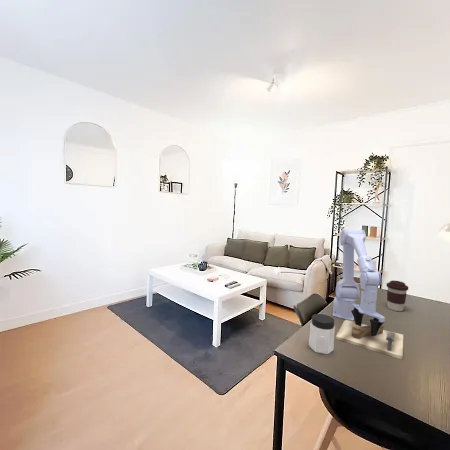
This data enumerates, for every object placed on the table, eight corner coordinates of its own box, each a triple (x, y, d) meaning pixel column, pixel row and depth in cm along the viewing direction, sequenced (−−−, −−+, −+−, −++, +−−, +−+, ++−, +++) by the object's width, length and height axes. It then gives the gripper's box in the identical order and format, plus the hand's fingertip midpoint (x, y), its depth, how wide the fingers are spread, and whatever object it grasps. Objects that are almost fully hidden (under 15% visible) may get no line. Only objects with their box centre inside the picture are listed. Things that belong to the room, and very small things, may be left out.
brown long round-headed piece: (356, 338, 106) (357, 331, 105) (349, 334, 109) (350, 327, 109) (384, 333, 111) (384, 326, 111) (376, 329, 114) (377, 323, 114)
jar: (308, 351, 98) (310, 320, 97) (308, 340, 106) (310, 312, 105) (334, 356, 95) (336, 324, 94) (332, 345, 103) (334, 315, 102)
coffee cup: (405, 308, 144) (408, 281, 143) (406, 314, 136) (409, 286, 135) (384, 303, 150) (387, 278, 148) (384, 309, 141) (386, 282, 140)
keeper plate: (335, 338, 108) (336, 325, 107) (344, 321, 124) (345, 309, 124) (402, 359, 95) (403, 343, 94) (403, 337, 111) (404, 324, 111)
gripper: (347, 294, 114) (345, 324, 115) (376, 307, 100) (373, 341, 101) (359, 293, 116) (357, 322, 117) (390, 305, 103) (386, 338, 104)
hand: (365, 331), depth 109 cm, fingers open, 7 cm apart
